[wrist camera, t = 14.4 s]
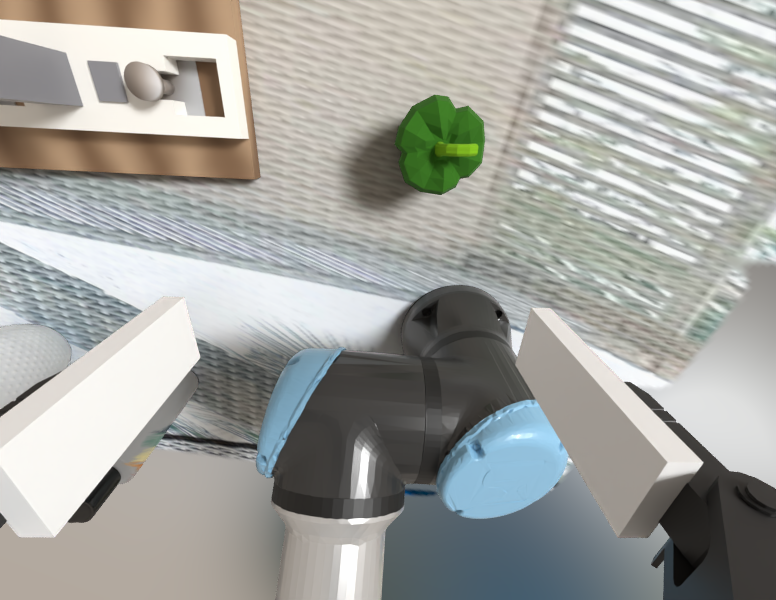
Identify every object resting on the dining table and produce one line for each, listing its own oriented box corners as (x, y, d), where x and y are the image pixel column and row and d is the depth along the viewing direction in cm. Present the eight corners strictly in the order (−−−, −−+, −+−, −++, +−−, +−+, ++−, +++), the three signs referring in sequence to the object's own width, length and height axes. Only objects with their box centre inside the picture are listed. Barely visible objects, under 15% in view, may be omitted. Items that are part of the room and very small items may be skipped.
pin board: (237, -9, 29) (206, -41, 24) (260, 177, 37) (240, 184, 31) (-137, -36, 28) (-258, -77, 23) (-36, 162, 35) (-110, 167, 30)
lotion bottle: (152, 370, 49) (22, 505, 31) (185, 360, 48) (71, 492, 30) (175, 396, 51) (66, 536, 33) (206, 387, 51) (112, 525, 33)
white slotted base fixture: (236, 40, 29) (153, -14, 19) (248, 138, 33) (186, 139, 22) (-90, 19, 28) (-378, -53, 17) (-40, 123, 32) (-252, 116, 21)
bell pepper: (381, 169, 37) (381, 180, 28) (409, 89, 33) (420, 73, 24) (447, 197, 38) (468, 216, 29) (481, 123, 35) (515, 119, 26)
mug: (121, 383, 50) (42, 458, 38) (61, 399, 51) (-34, 477, 39) (50, 300, 43) (-72, 361, 32) (-18, 321, 44) (-160, 387, 33)
